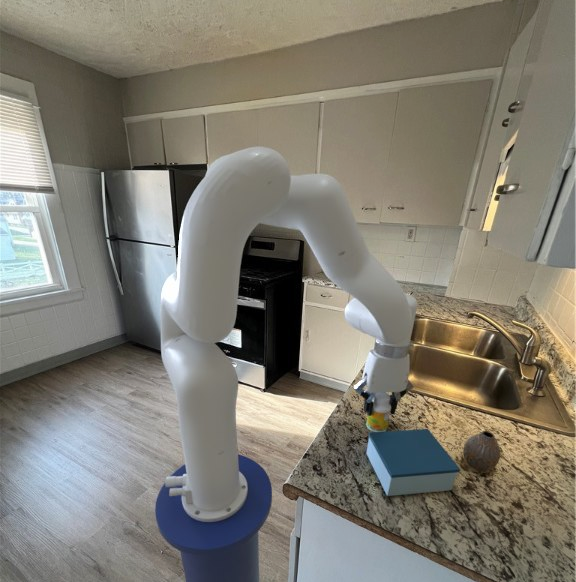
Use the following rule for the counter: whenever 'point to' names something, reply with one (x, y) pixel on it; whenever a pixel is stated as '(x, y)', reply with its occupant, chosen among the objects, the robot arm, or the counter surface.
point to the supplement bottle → (379, 413)
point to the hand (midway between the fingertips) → (379, 411)
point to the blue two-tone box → (411, 462)
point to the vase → (482, 451)
